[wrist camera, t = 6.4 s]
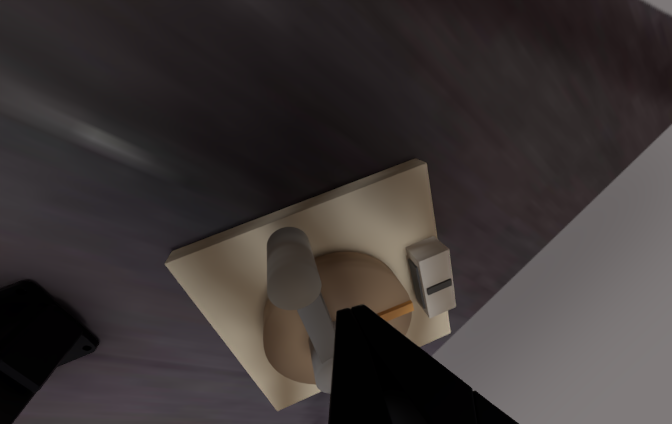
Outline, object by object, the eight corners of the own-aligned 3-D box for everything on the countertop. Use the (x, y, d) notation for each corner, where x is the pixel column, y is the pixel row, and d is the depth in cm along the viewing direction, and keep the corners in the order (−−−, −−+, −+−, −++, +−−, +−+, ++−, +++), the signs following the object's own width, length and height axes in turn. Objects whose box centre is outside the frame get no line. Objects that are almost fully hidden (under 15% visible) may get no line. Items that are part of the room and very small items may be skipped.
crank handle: (292, 379, 23) (301, 480, 17) (205, 229, 16) (170, 311, 10) (408, 330, 24) (455, 409, 18) (375, 171, 17) (435, 212, 11)
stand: (276, 394, 26) (278, 438, 23) (172, 251, 18) (151, 286, 14) (441, 321, 27) (465, 351, 24) (415, 158, 19) (445, 171, 16)
